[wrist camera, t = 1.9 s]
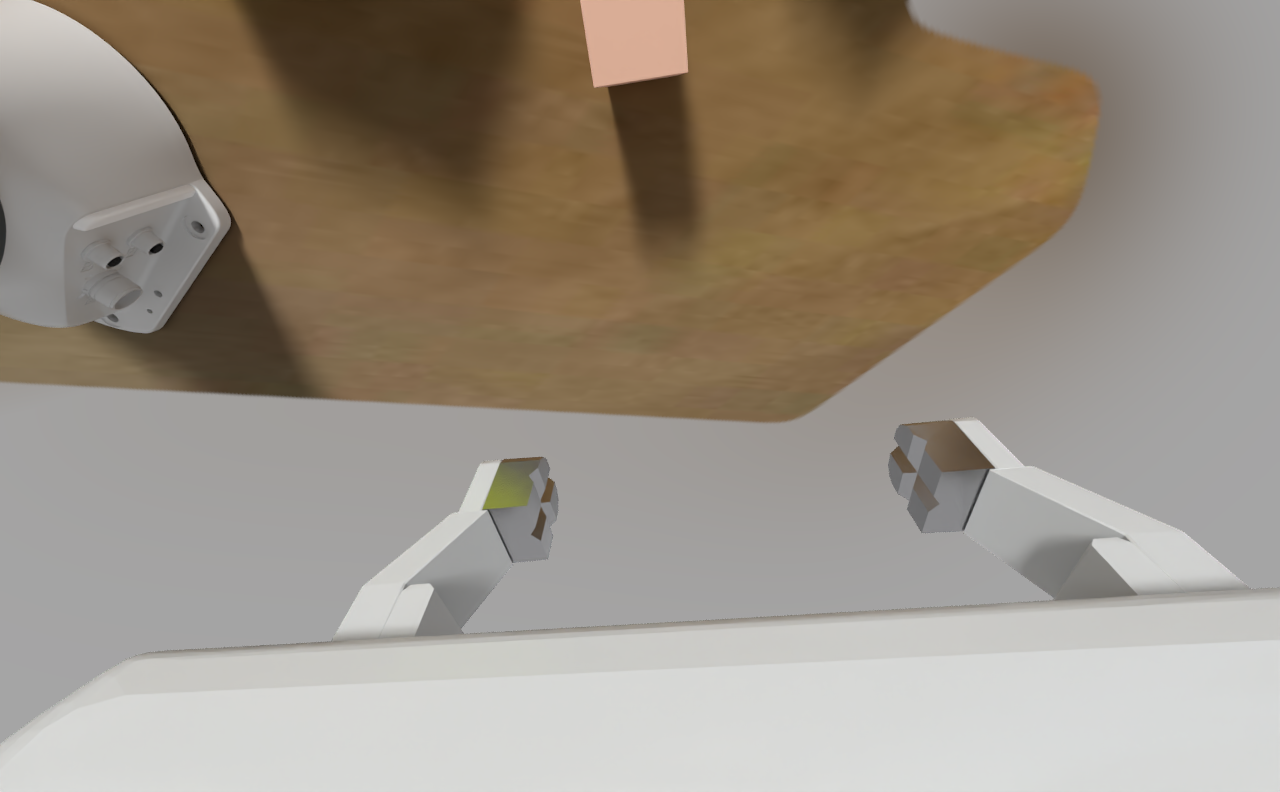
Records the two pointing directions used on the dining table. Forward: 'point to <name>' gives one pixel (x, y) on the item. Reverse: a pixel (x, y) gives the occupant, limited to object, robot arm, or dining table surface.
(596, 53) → the tall block
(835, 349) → the dining table surface
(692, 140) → the dining table surface
